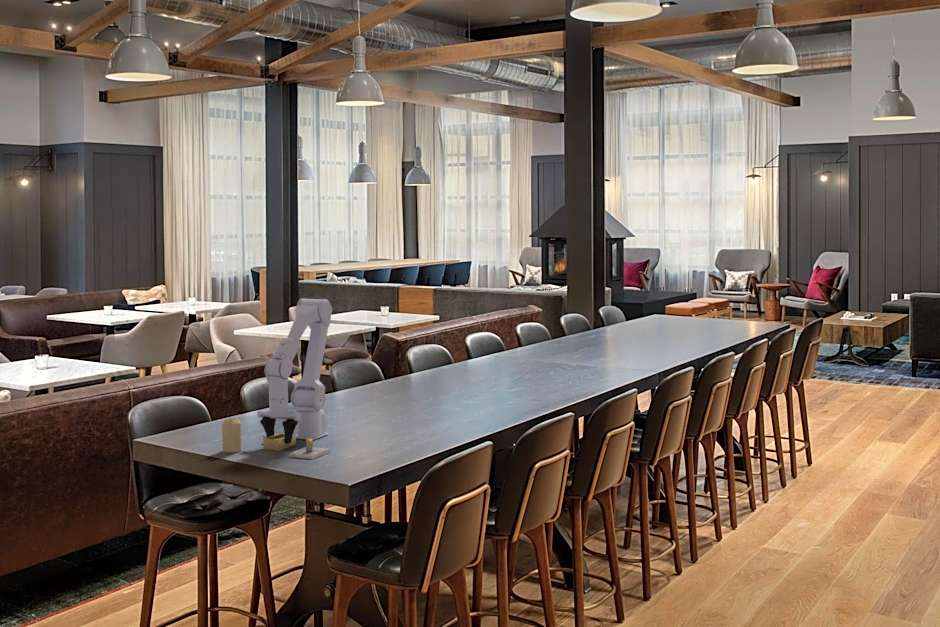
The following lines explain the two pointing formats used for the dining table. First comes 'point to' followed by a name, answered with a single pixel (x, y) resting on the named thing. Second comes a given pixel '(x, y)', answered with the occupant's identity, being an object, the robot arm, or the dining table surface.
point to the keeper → (309, 451)
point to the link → (278, 442)
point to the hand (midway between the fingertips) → (279, 442)
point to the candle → (231, 435)
